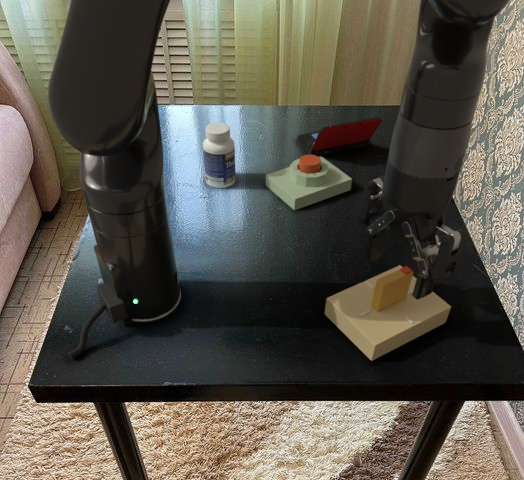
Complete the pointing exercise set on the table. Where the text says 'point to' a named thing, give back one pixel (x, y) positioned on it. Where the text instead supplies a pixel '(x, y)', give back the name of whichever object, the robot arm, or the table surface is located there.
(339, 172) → the pale green button base
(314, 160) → the bell button
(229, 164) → the pill bottle
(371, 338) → the plate
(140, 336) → the table surface
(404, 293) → the lock knob
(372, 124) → the handheld game console
